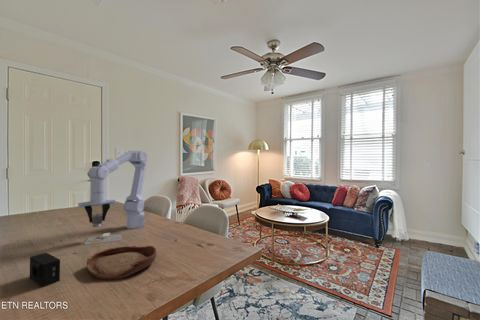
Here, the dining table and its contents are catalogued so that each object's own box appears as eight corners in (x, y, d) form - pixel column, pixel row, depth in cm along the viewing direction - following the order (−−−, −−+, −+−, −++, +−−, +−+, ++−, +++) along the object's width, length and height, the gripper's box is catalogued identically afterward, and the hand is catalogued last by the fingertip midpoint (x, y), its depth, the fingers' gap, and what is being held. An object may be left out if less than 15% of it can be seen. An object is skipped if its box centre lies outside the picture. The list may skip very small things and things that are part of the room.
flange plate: (121, 237, 111) (121, 233, 111) (120, 242, 104) (120, 238, 104) (88, 240, 105) (88, 237, 105) (84, 246, 98) (84, 242, 98)
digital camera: (24, 279, 71) (24, 258, 71) (45, 272, 76) (46, 252, 76) (37, 289, 66) (38, 266, 66) (59, 281, 70) (60, 259, 70)
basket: (75, 286, 68) (75, 269, 68) (97, 258, 88) (97, 245, 88) (153, 276, 75) (153, 261, 75) (157, 252, 94) (158, 240, 94)
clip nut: (101, 224, 106) (102, 213, 106) (102, 226, 103) (102, 215, 103) (91, 225, 104) (92, 214, 104) (91, 227, 100) (92, 216, 100)
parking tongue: (110, 234, 114) (110, 232, 114) (109, 237, 110) (109, 235, 110) (103, 235, 113) (103, 233, 113) (102, 238, 108) (102, 236, 108)
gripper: (112, 190, 111) (112, 217, 111) (77, 192, 101) (76, 222, 101) (116, 191, 106) (116, 219, 106) (79, 194, 96) (78, 225, 96)
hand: (97, 221), depth 103 cm, fingers closed on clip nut, 4 cm apart
